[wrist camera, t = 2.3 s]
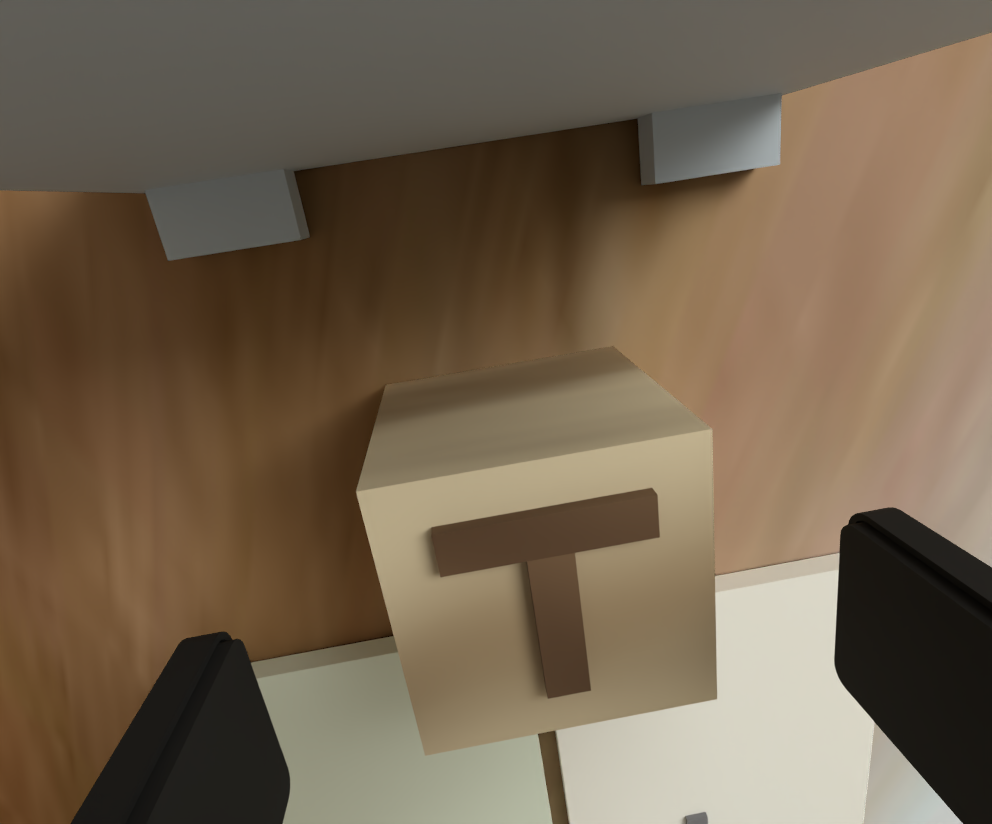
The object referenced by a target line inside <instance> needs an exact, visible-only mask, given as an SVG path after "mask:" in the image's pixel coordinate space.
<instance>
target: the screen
mask: <svg viewBox="0 0 992 824" xmlns="http://www.w3.org/2000/svg"><path fill="white" fill-rule="evenodd" d="M991 32H992V0H0V190H13V191H60V192H107V193H146V196H147V199H148V202H149V205H150V208H151V211H152V214H153V217H154V220H155V223H156V226H157V229H158V232H159V235H160V238H161V241H162V244H163V247H164V250H165V253H166V256H167V259H168V261H170V260H177V259H183V258H189V257H196V256H202V255H208V254H215V253H221V252H227V251H234V250H240V249H247V248H253V247H259V246H266V245H272V244H278V243H285V242H291V241H297V240H303V239H306V238H309V237H310V235H309V231H308V227H307V223H306V219H305V214H304V210H303V206H302V202H301V198H300V194H299V190H298V186H297V182H296V178H295V174H294V171H298V170H305V169H311V168H318V167H324V166H331V165H337V164H344V163H350V162H357V161H364V160H370V159H377V158H383V157H390V156H396V155H403V154H409V153H416V152H423V151H429V150H436V149H442V148H449V147H455V146H462V145H468V144H475V143H481V142H488V141H495V140H501V139H508V138H514V137H521V136H527V135H534V134H540V133H547V132H554V131H560V130H567V129H573V128H580V127H586V126H593V125H599V124H606V123H612V122H619V121H626V120H632V119H638V134H639V152H640V170H641V185H650V184H659V183H666V182H672V181H678V180H685V179H691V178H697V177H704V176H710V175H716V174H723V173H729V172H735V171H742V170H748V169H754V168H761V167H767V166H773V165H780V140H781V97H782V95H785V94H788V93H792V92H795V91H798V90H802V89H805V88H808V87H812V86H815V85H818V84H822V83H825V82H828V81H832V80H835V79H838V78H842V77H845V76H848V75H852V74H855V73H858V72H862V71H865V70H868V69H872V68H875V67H878V66H882V65H885V64H888V63H892V62H895V61H898V60H902V59H905V58H908V57H912V56H915V55H918V54H921V53H925V52H928V51H931V50H935V49H938V48H941V47H945V46H948V45H951V44H955V43H958V42H961V41H965V40H968V39H971V38H975V37H978V36H981V35H985V34H988V33H991Z"/></svg>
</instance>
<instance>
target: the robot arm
mask: <svg viewBox="0 0 992 824" xmlns="http://www.w3.org/2000/svg"><path fill="white" fill-rule="evenodd" d="M834 665H835V669H836V673H837V675H838V678H839V679H840V681H841V683H842V684H843V686H844V687H845V689H846V690H847V691H848V692H849V693H850V694H851V695H852V697H853V698H854V699H855V700H856V701H857V702H858V703H859V705H860V706H861V707H862V708H863V709H864V710H865V711H866V713H867V714H868V715H869V716H870V717H871V718H872V720H873V721H874V722H875V723H876V724H877V725H878V726H879V728H880V729H881V730H882V731H883V732H884V733H885V734H886V736H887V737H888V738H889V739H890V740H891V741H892V743H893V744H894V745H895V746H896V747H897V748H898V749H899V751H900V752H901V753H902V754H903V755H904V756H905V757H906V759H907V760H908V761H909V762H910V763H911V764H912V766H913V767H914V768H915V769H916V770H917V771H918V772H919V774H920V775H921V776H922V777H923V778H924V779H925V780H926V782H927V783H928V784H929V785H930V786H931V787H932V789H933V790H934V791H935V792H936V793H937V794H938V795H939V797H940V798H941V799H942V800H943V801H944V802H945V803H946V805H947V806H948V807H949V808H950V809H951V810H952V811H953V813H954V814H955V815H956V816H957V817H958V818H959V820H960V821H961V822H962V823H963V824H992V568H991V567H990V566H988V565H987V564H985V563H984V562H982V561H980V560H979V559H977V558H976V557H974V556H972V555H971V554H969V553H968V552H966V551H964V550H963V549H961V548H960V547H958V546H957V545H955V544H953V543H952V542H950V541H949V540H947V539H945V538H944V537H942V536H941V535H939V534H937V533H936V532H934V531H933V530H931V529H930V528H928V527H926V526H925V525H923V524H922V523H920V522H918V521H917V520H915V519H914V518H912V517H910V516H909V515H907V514H906V513H904V512H903V511H901V510H899V509H896V508H884V509H878V510H873V511H868V512H862V513H857V514H855V515H853V516H852V517H851V518H850V520H849V524H848V525H846V526H844V527H843V528H842V530H841V535H840V555H839V574H838V594H837V614H836V634H835V654H834ZM289 795H290V774H289V770H288V766H287V763H286V761H285V758H284V755H283V752H282V749H281V747H280V744H279V741H278V738H277V735H276V733H275V730H274V727H273V724H272V721H271V719H270V716H269V713H268V710H267V707H266V704H265V702H264V699H263V696H262V693H261V690H260V688H259V685H258V682H257V679H256V676H255V674H254V671H253V668H252V665H251V662H250V660H249V657H248V654H247V651H246V648H245V646H244V644H243V642H242V641H241V640H240V639H235V640H232V638H231V636H230V635H229V634H228V633H227V632H218V633H212V634H207V635H201V636H196V637H191V638H186V639H184V640H182V641H181V642H180V644H179V645H178V646H177V648H176V650H175V651H174V653H173V655H172V656H171V658H170V660H169V661H168V663H167V665H166V666H165V668H164V670H163V671H162V673H161V675H160V676H159V678H158V680H157V681H156V683H155V685H154V686H153V688H152V689H151V691H150V693H149V694H148V696H147V698H146V699H145V701H144V703H143V704H142V706H141V708H140V709H139V711H138V713H137V714H136V716H135V718H134V719H133V721H132V723H131V724H130V726H129V728H128V729H127V731H126V733H125V734H124V736H123V738H122V739H121V741H120V743H119V744H118V746H117V748H116V749H115V751H114V753H113V754H112V756H111V757H110V759H109V761H108V762H107V764H106V766H105V767H104V769H103V771H102V772H101V774H100V776H99V777H98V779H97V781H96V782H95V784H94V786H93V787H92V789H91V791H90V792H89V794H88V796H87V797H86V799H85V801H84V802H83V804H82V806H81V807H80V809H79V811H78V812H77V814H76V816H75V817H74V819H73V821H72V822H71V824H283V820H284V816H285V812H286V808H287V804H288V800H289Z"/></svg>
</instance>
